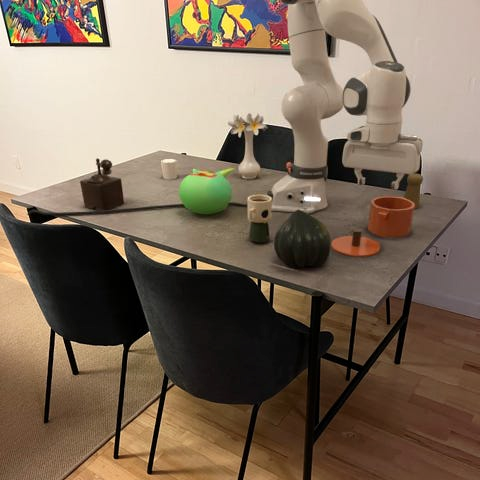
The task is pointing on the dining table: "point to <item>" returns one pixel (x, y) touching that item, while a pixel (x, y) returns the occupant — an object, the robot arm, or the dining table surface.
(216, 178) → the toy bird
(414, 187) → the cork
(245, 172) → the flower vase
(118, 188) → the coffee grinder
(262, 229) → the character mug
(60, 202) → the dining table surface
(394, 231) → the pot
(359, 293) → the dining table surface
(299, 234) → the squash
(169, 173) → the white short cylinder
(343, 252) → the lid
